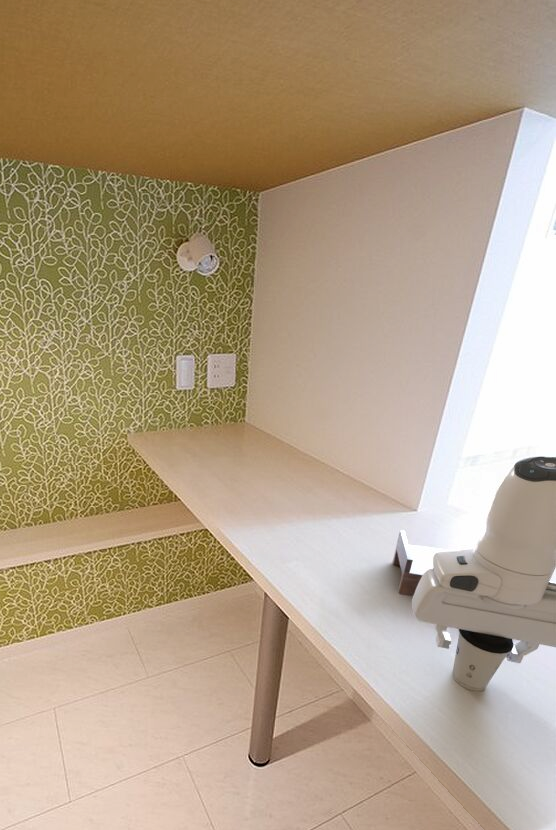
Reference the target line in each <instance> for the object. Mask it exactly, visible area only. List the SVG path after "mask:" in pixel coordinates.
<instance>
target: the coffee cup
mask: <svg viewBox="0 0 556 830" xmlns="http://www.w3.org/2000/svg"><path fill="white" fill-rule="evenodd" d="M514 646H515V645H514V639H510V638H505V637H499V636H494V635H489V634H483V633H478V632H473V631H468V630H463V629H458V637H457V643H456V649H455V654H454V661H453V666H452V667H453V668H452V677H453V679H454V680H455V681H456V683H458V684H459V685H460V686H461V687H463V688H465V689H468V690H470V691H475V692H479V691H483V690H485V689H486V687H487V686H488V684H489V682H490V681H491V680H492V679H493V677H494V675H496V672H497V670H498V669H499V668H500V666H501V665H502V663H503V661H504V660H505V658H507V657H506V655H507V654H508V652H510V651H512V649H513V647H514Z"/></svg>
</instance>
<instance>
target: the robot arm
mask: <svg viewBox="0 0 556 830" xmlns="http://www.w3.org/2000/svg"><path fill="white" fill-rule="evenodd" d="M450 550H451V551H440V552H437V553H435V554H434V556H433V568H431V569H429V570H427V571H426V572H425V573H424V574H423V576H422V577H421V579H420V581H419V583H418V586H417V588H416V590H415V593H414V596H412V599H411V609H412V613H413V615H414V617H415V618H416V620H417V621H418V622H421V623H427V624H431V625H432V624H433V625H434V627H435V630H436V633H437V635H436V638H435V643H436V646H437V648H441V649H447V650H449V649H450V645H451V644H452V638H451V637H450V636H451V635H450V633H449V632H446V631H447V630H448V628H452V629H457V630H459V629H463V630H468V631H473V632H478V633H483V634H489V635H494V636H499V637H505V638H510V639H512V640H515V641H519V642H517V643H516V644H515V645H514V647H513V649H512V651H510V652H508V654H507V655H506V657H505V658H506V660H507V661H508V662H512V663H516V664H521V663H522V661H523V659H524V656H525V657H526V656H527V655H529V654H530V653H532V652H534V651H536V650H538V648H539V647H540V646H547V647H550V648H551V647H552V648H556V581H551V579H552V577H553V574H554V572H555V570H556V456H555V455H531V456H526V457H523V458H520V459H518V460H516V461H514V463H513V464H512V465H511V466H510V467H509V469H508V470H507V471H506V473H505V475H503V478H502V480H501V481H500V483H499V485H498V487H497V489H496V492H495V493H494V496H493V498H492V501H491V504H490V506H489V508H488V511H487V515H486V517H485V531H484V533H483V535H482V536H481V537H480V539H479V540H478V541H477V543H476V545H475V546H474V547H469V548H462V549H450Z"/></svg>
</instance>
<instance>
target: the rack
mask: <svg viewBox="0 0 556 830" xmlns="http://www.w3.org/2000/svg"><path fill="white" fill-rule="evenodd" d="M396 541H397V542H396V546H395V550H394V554H393V558H392V565H394V566H399V567H400V570H401V576H400V580H399V584H398V588H397V592H398V594H401V595H407V596H412V597H413V596H414V593H415V590H416V588H417V586H418V583H419V581H420V579H421V577H422V576H423V574H424V573H425V572H426V571H427V570H429V569H431V568H433V556H434V554H435V553H437V552H440V551H451V550H452V549H445V548H437V547H433V546H432V547H430V546H425V545H424V546H423V545H416V544H410V543H409V540H408V536H407V534H406V530H399V533H398V538H397V540H396Z"/></svg>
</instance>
